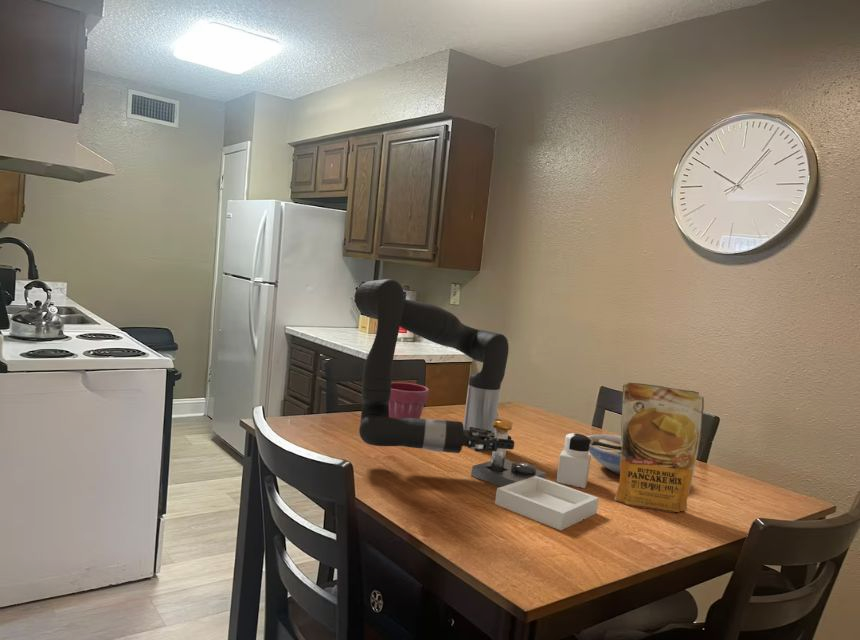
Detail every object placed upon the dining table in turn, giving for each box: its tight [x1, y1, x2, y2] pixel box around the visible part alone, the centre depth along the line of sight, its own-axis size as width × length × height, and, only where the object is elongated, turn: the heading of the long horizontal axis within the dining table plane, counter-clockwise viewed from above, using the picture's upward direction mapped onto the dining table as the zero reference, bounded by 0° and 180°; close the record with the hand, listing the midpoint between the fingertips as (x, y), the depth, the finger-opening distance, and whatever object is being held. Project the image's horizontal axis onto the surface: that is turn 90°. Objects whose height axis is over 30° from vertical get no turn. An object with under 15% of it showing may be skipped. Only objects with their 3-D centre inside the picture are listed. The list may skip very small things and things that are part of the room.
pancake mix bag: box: [613, 382, 705, 514], centre depth 143 cm, size 7×19×28 cm, turn 81°
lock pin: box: [490, 418, 513, 472], centre depth 150 cm, size 5×5×14 cm
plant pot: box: [389, 381, 430, 419], centre depth 189 cm, size 14×14×13 cm
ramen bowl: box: [586, 434, 622, 475], centre depth 168 cm, size 25×23×8 cm
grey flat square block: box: [470, 458, 547, 488], centre depth 150 cm, size 13×13×4 cm
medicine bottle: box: [555, 432, 592, 489], centre depth 154 cm, size 7×7×12 cm
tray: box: [494, 476, 600, 531], centre depth 133 cm, size 16×16×4 cm
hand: (511, 442), depth 150 cm, fingers closed on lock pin, 3 cm apart
